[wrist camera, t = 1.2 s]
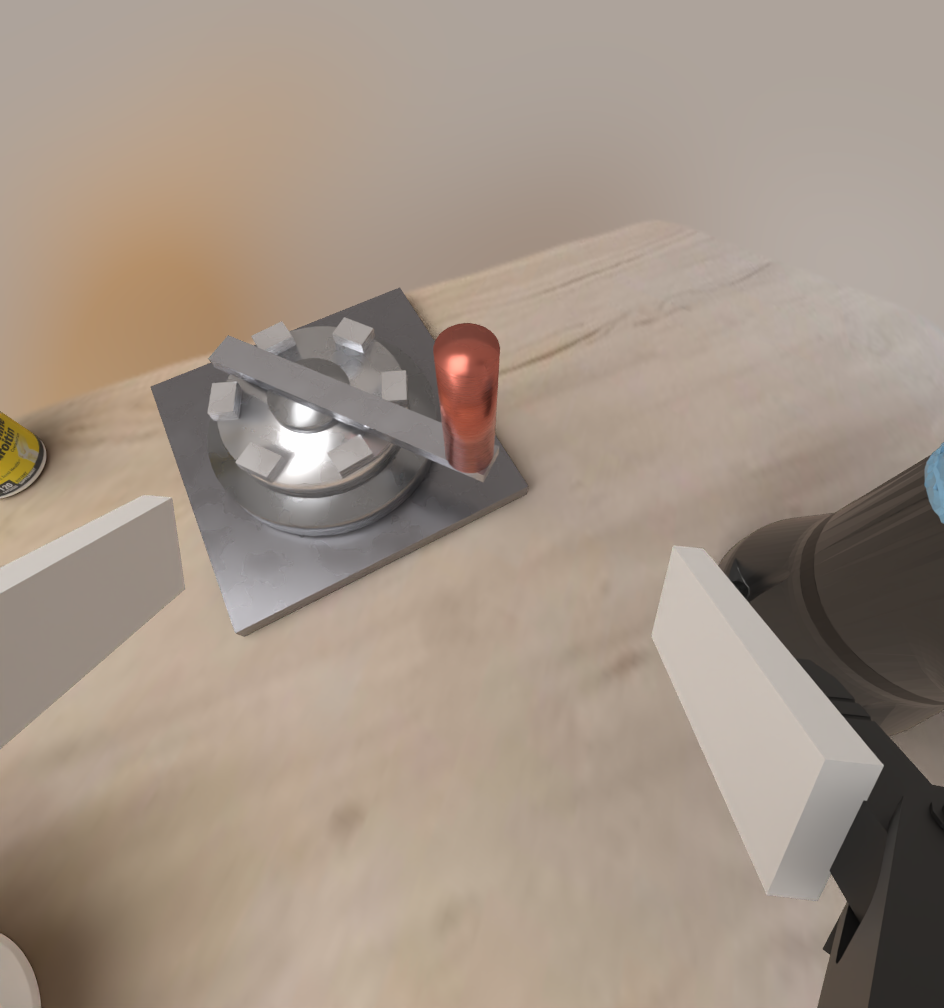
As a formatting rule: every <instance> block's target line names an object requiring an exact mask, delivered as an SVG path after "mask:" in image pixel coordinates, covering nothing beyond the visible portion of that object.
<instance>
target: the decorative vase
mask: <svg viewBox="0 0 944 1008" xmlns="http://www.w3.org/2000/svg"><path fill="white" fill-rule="evenodd" d="M0 1008H41V1000H40V993H39V988H38V984H37V981H36V977H35V975H34V972H33V969H32V967H31V965H30V963H29V961H28V960H27V958H26V956H25V955H24V953H23V952H22V951H21V950H20V948H19V947H18V946H17V945H16V944H15V943H14V942H13V941H12V940H10V939H9V938H8V937H6V936H5V935H3V934H1V933H0Z"/></svg>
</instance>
